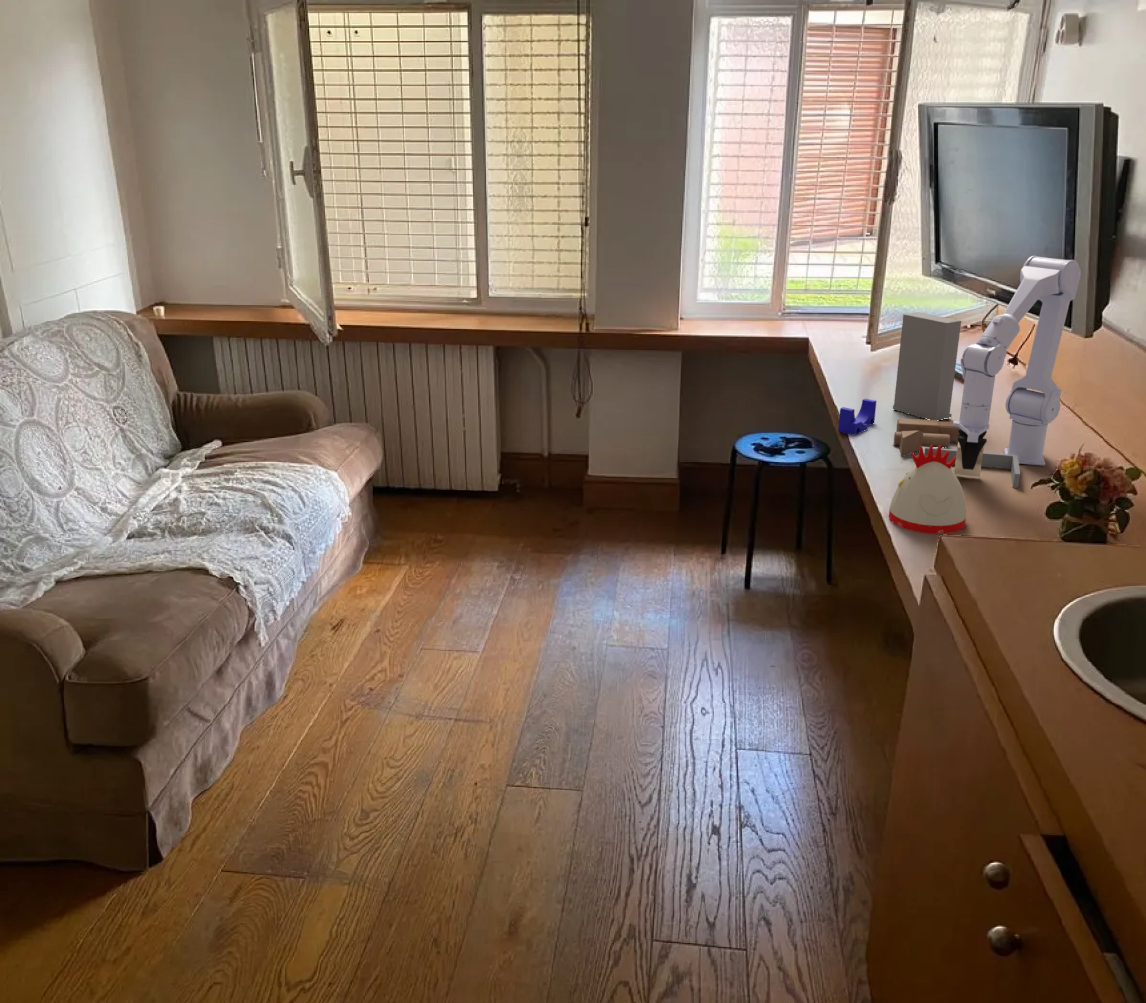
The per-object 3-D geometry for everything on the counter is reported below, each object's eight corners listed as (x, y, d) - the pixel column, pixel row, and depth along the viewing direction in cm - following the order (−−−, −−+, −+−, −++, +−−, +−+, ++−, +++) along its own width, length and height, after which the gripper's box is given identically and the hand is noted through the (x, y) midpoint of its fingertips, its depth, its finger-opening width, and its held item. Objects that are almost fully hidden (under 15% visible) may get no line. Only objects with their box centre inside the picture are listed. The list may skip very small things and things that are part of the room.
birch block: (954, 468, 218) (958, 441, 216) (979, 470, 217) (983, 443, 214) (954, 474, 215) (957, 447, 213) (979, 476, 213) (983, 449, 211)
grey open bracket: (919, 459, 228) (920, 446, 227) (1015, 468, 222) (1017, 455, 221) (916, 477, 217) (917, 464, 216) (1017, 487, 210) (1020, 474, 209)
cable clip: (854, 435, 246) (856, 411, 244) (838, 432, 249) (840, 408, 247) (879, 425, 254) (882, 401, 252) (863, 421, 257) (865, 398, 255)
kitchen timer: (882, 505, 202) (890, 433, 197) (954, 507, 201) (963, 434, 196) (897, 533, 189) (905, 456, 184) (973, 535, 188) (984, 457, 183)
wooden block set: (894, 413, 244) (973, 417, 240) (891, 436, 246) (970, 440, 242) (898, 434, 229) (983, 438, 225) (895, 458, 231) (980, 463, 227)
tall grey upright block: (951, 419, 257) (964, 320, 248) (934, 423, 254) (946, 323, 245) (909, 406, 268) (919, 311, 259) (892, 410, 265) (902, 314, 256)
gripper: (956, 392, 218) (948, 453, 223) (955, 410, 205) (947, 474, 210) (991, 395, 216) (983, 456, 220) (992, 413, 203) (983, 477, 208)
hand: (968, 465), depth 215 cm, fingers closed on birch block, 4 cm apart
